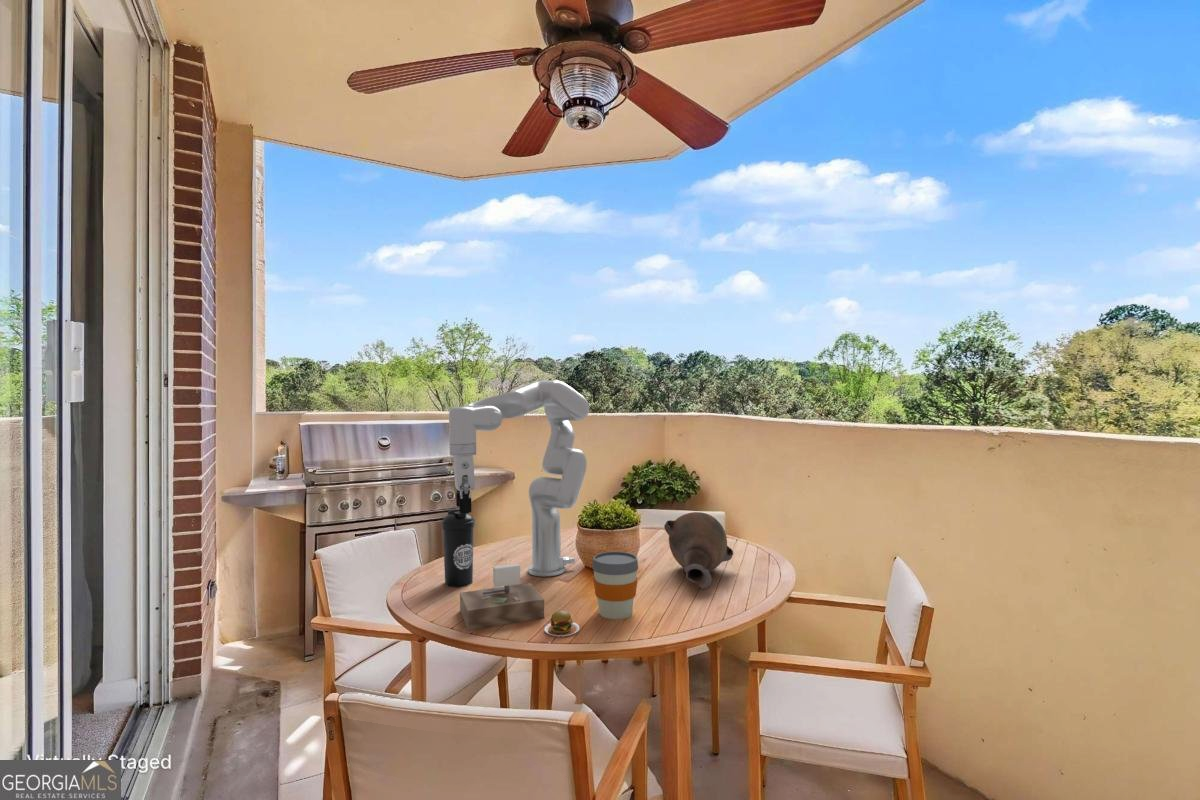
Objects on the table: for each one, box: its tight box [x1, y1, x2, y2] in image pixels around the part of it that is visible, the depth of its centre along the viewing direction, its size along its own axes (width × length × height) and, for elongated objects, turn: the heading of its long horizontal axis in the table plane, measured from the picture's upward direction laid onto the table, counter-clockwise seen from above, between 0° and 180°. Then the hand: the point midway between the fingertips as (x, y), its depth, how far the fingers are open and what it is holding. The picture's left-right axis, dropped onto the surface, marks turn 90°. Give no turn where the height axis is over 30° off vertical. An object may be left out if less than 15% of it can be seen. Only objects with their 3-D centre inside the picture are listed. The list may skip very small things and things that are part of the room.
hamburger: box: [543, 609, 581, 637], centre depth 142 cm, size 12×12×6 cm
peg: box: [483, 563, 521, 594], centre depth 155 cm, size 10×2×7 cm, turn 112°
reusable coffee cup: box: [592, 551, 639, 620], centre depth 153 cm, size 12×13×15 cm
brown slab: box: [459, 582, 545, 631], centre depth 153 cm, size 20×14×5 cm
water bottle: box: [441, 508, 476, 588], centre depth 179 cm, size 10×10×23 cm
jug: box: [663, 511, 734, 590], centre depth 184 cm, size 20×20×30 cm
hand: (463, 509), depth 162 cm, fingers open, 9 cm apart
